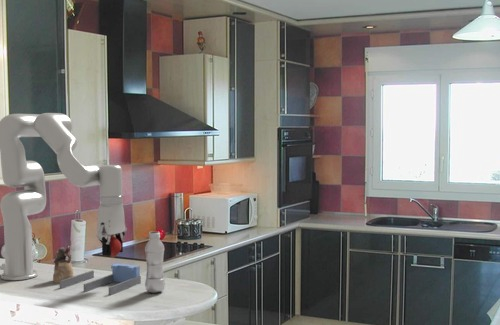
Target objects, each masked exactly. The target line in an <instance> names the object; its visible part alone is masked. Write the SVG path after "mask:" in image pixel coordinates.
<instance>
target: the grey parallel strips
mask: <svg viewBox="0 0 500 325" xmlns="http://www.w3.org/2000/svg"><path fill="white" fill-rule="evenodd" d="M94 272H95V271H94V270H89V271H86V272H83V273H79V274H77V275H74V277H71V278H68V279H65V280H61V281H60V283H59V289H60V290H61V289H64V288H67V286H68V287H70V286H73V285H76V284H79V283H82V282H85V281H87V280H90V279H94V277H95V274H94ZM141 280H142V276H141V275H140V276H138V277H134V278H132V279H129V280H126V281H124V282H118V283H116V284H113V285H112V286H111V285H110V286H109V287H108V296H112V295H115V294H117V293H120V292H122V291H125V290H127V289H129V288H132V287H134V286H137V285H139V284H141V283H142V282H141ZM81 281H82V282H81ZM111 283H114V281H113V274H112V273H110V274H109V275H105V276H102V277H100V278H97V279H95V280H92V281H89V282H86V283H84V284H83V292H84V293H86V292H88V291H89V292H90V291H92V290H94V289H96V288H99V287H103V286H104V285H107V284H111Z"/></svg>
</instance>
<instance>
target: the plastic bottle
mask: <svg viewBox="0 0 500 325" xmlns="http://www.w3.org/2000/svg"><path fill="white" fill-rule="evenodd" d="M160 238H161V232H160V231H149V232H148V241H147V243H146V244H145V247H144V252H145V257H146V258H145V260H146V276H145V277H146V279H145V283H144V286H145V290H146V292H147V293H153V294H155V293H160V292H162V291H163V292H164V290H165V287H166V286H165V285H166V281H165V280H166V279H165V277H164V255H165V245H164V243H163V242H162V240H161V239H160Z"/></svg>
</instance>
